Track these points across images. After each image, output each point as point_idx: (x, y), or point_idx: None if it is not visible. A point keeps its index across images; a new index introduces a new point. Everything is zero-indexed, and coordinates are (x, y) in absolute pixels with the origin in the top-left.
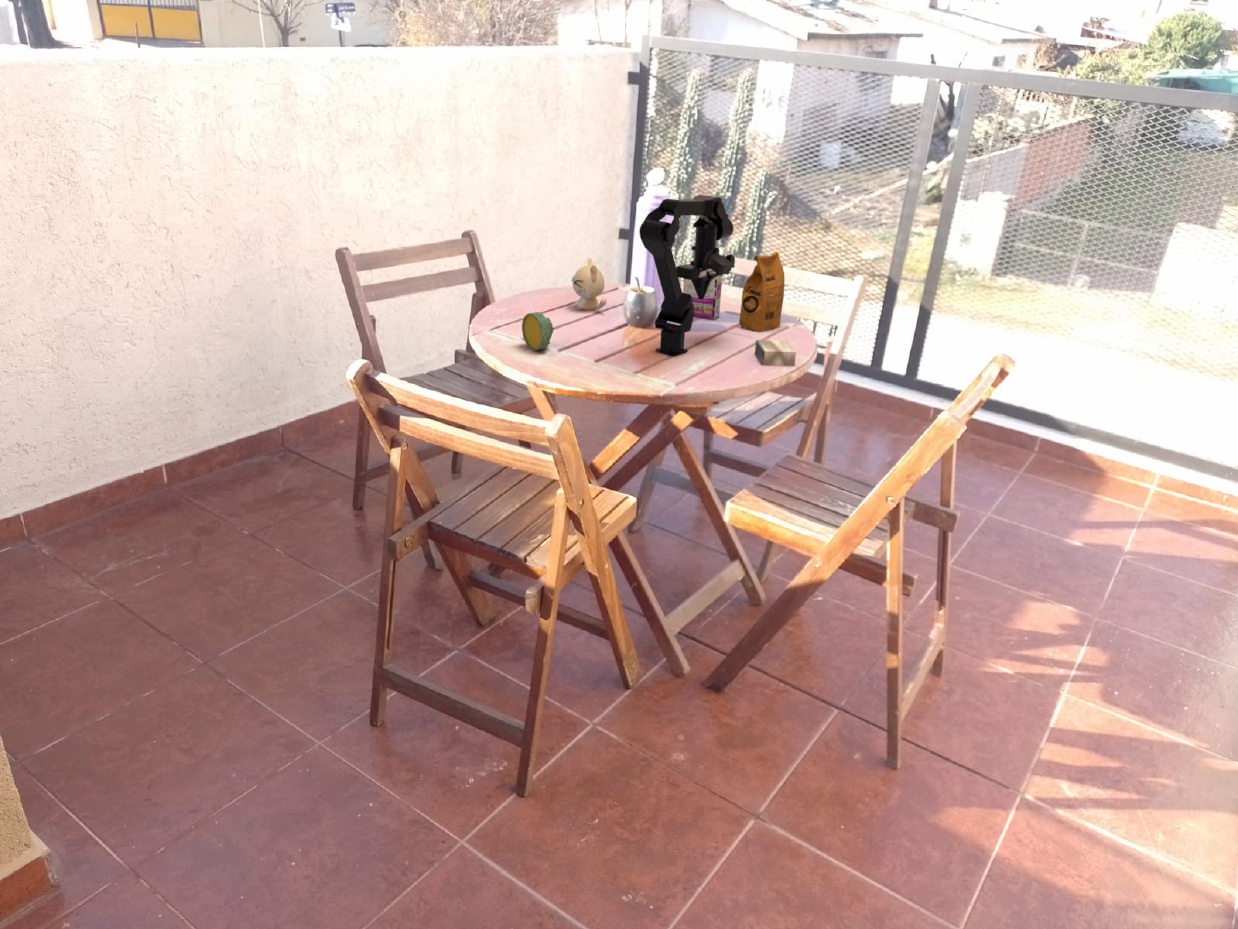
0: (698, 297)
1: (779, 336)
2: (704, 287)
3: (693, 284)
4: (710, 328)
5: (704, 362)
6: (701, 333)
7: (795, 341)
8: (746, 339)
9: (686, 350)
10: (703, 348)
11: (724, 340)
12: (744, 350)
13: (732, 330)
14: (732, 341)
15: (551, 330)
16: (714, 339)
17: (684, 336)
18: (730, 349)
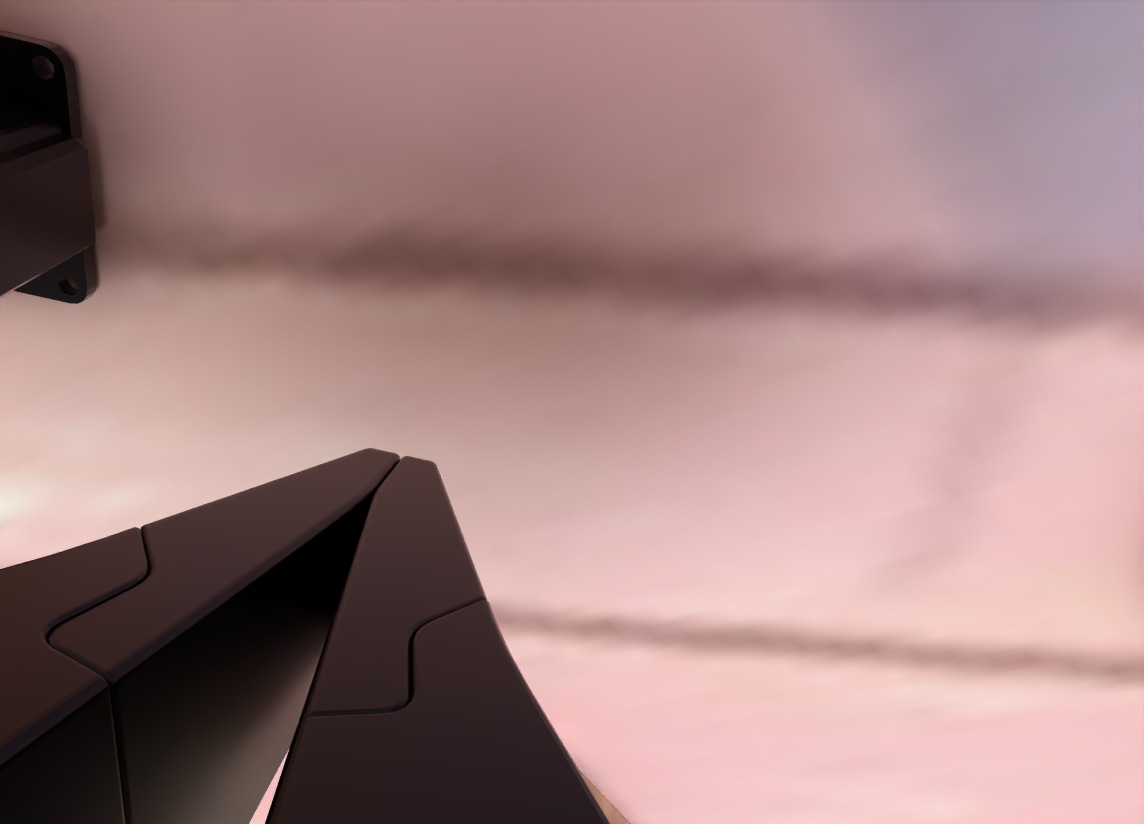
0: (352, 458)
1: (1075, 714)
2: (237, 818)
3: (32, 576)
4: (1106, 106)
5: (14, 512)
6: (814, 111)
7: (980, 811)
8: (842, 556)
9: (60, 300)
10: (316, 365)
11: (693, 422)
12: (522, 631)
13: (1117, 356)
14: (706, 487)
15: None
16: (666, 333)
17: (4, 294)
18: (469, 548)
